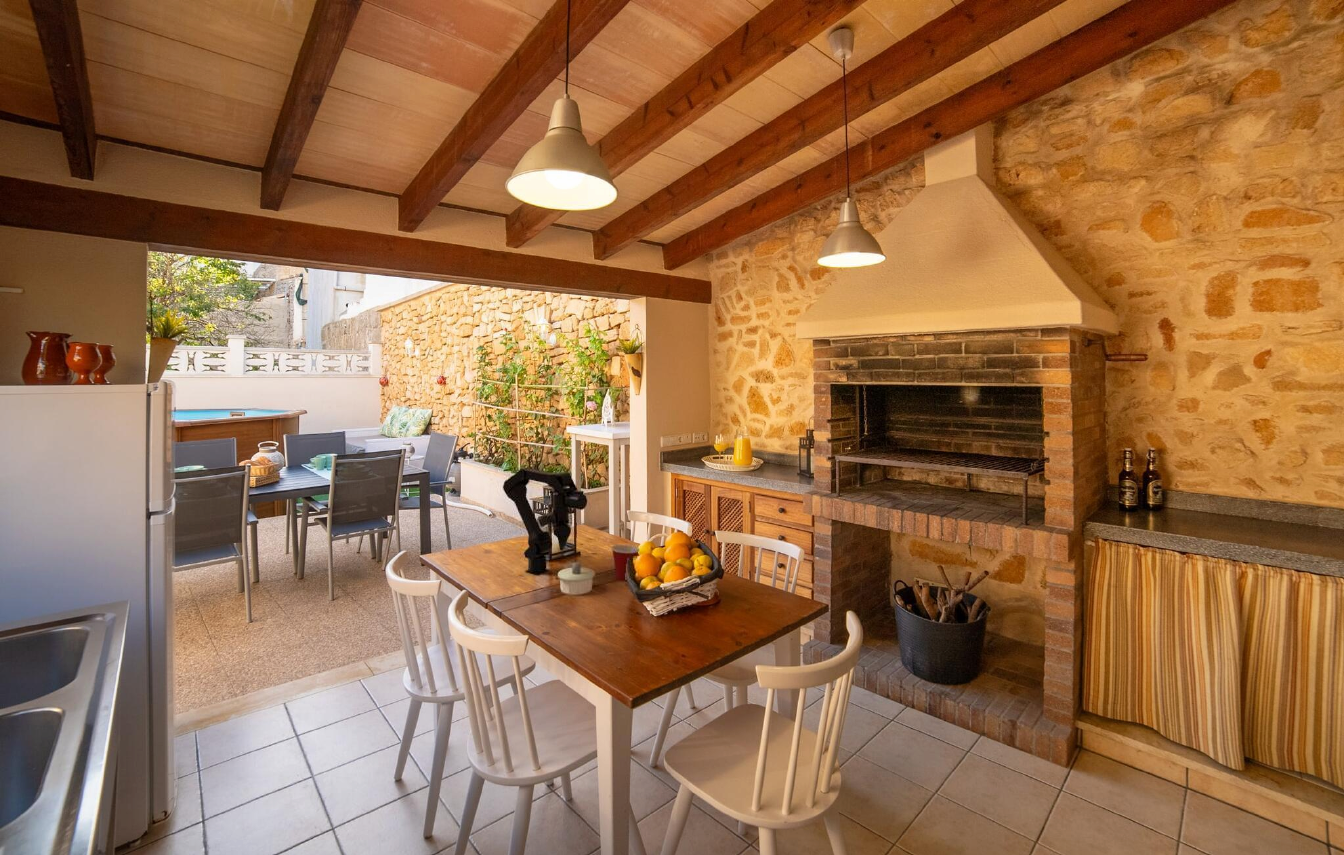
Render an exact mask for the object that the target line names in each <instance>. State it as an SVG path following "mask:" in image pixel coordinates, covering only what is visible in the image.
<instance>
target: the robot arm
mask: <svg viewBox="0 0 1344 855" xmlns="http://www.w3.org/2000/svg"><path fill="white" fill-rule="evenodd" d="M530 481H534V482H538V483H543V484H546V485H548V486H549V487H550V488H551V490H549V494H552V495H553V506H552V510H551V512H550V511H549V512H547V513H545V514H542V515H539V516H537V518H536V516H535V513H534V511H533V509H532V507H531V505H530V502H529V500H528V498H527V493H528V488H527V485H528V484H529V483H530ZM502 490H503V492H504V493H505V495H506V497H507V498H508V499H510V500H511V501H512V502H514V505H515V507H516V509H517V511H518V513H519V516H520V518H521V520H522V522H523V525H524V527H525V529H526V531H527V534H528V537H527V539H528V540H527V545H528V547H527V549H526V550H525V551H524V552H523V553H524V554H523V555H524V559H525V558H526V559H528V564H527V565H528V568H527V569H526V570H525V573H529V574H532V575H536V576H539V575H541V574H544V573H546V572H549V569H548V568H547V555H548V556H549V555H550V553H551V551H552V548H553V547H552V546H553V542H552V541H553V539H552V537H551V536H550V533H549V531H548V530H546V531H544V530H542V528H544V527H545V526H547V525H550V524H551V525H552V528H553V530H552V531H553V532H552V533H553V535H554V536H555V537H556V538H557V541H558V542H557V543H558V546H559V551H564V548H565V546H566V544H567V541H568V539H569V538H570V535H571V534H572V527H571V525H569V524H570V519H569V518H570V517H569V516H570V509H575V510H580V511H582V510H584V509H586V507H587V504H588V498H587V496H586V495H585V494H584V490H578V488H577V485H576V484H575V482H574V479H573V478H572V476H571V474H570V472H566V471H562V472H561V471H560V472H559V471H558V472H551V471H550V472H549V471H544V470H541V469H539V470H538V469H534V468H531V467H524V468H520V469H519V470H518V471H516V473H515V474H513V475H511V476H510V477H508V479H506V480H504V482H503V485H502Z"/></svg>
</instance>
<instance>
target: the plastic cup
mask: <svg viewBox="0 0 1344 855" xmlns="http://www.w3.org/2000/svg"><path fill="white" fill-rule="evenodd" d="M611 551H612V556H613V562H614V563H613V564H614V570H615V575H616V579H617V581H618V580H619V581H622V582H623V581H625V573H626V564H627V558H629V557H630V556H636V555H637V556H638V553H639V552H640V548H639V547H637V546H632V545H627V544H626V545H624V544H617V545H612V546H611Z"/></svg>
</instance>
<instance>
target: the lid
mask: <svg viewBox="0 0 1344 855" xmlns="http://www.w3.org/2000/svg"><path fill="white" fill-rule="evenodd" d="M595 574H596V573H595V571H594V570H593V569H591V568H588V567H582V563H581V562H578V561H577V562H572V566H571V567H569V568H568V567H567V568H564V569H561V570H559V572H557V578H558V579H559V580H560V579H561V580H563V581H568V582H582V581H587V580H590V579H592V580H593V579H594V578H595V576H596V575H595Z"/></svg>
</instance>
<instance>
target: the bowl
mask: <svg viewBox="0 0 1344 855" xmlns="http://www.w3.org/2000/svg"><path fill="white" fill-rule="evenodd" d="M559 580H560V581H559V582H560V584H559V588H560V592H561V593H563V594H565V595H568V596H580V595H586V594H588V593H590V592H591V591H592V588H593V578H592V579H590V580H587V581H582V582H568V581H563V580H561V579H559Z"/></svg>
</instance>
